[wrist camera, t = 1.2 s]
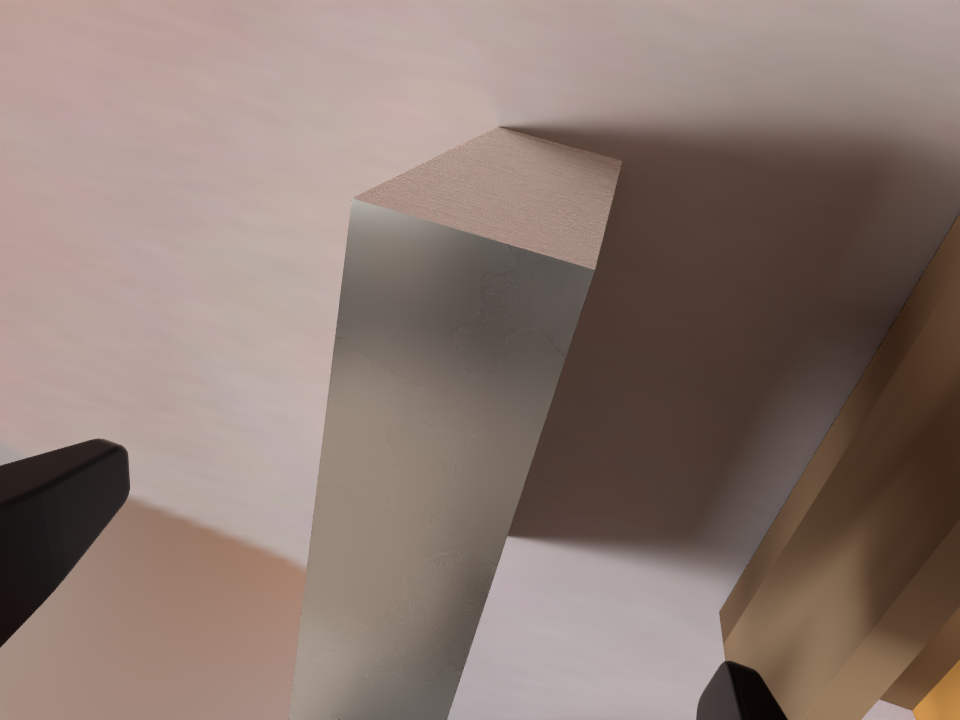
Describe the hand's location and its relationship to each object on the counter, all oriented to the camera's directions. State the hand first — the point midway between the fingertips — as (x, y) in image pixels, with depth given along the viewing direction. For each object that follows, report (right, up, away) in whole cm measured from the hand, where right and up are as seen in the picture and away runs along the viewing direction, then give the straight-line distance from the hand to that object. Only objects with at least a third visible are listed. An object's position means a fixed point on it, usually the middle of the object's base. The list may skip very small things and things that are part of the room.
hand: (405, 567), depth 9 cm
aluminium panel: (+2, +3, +6) cm, 7 cm away
